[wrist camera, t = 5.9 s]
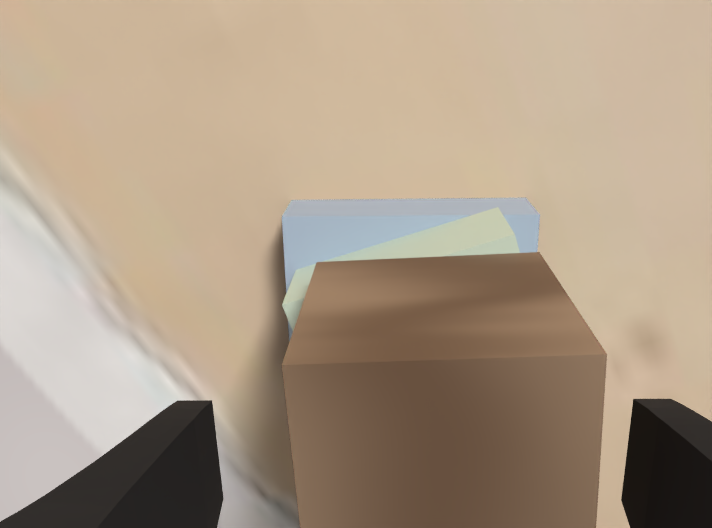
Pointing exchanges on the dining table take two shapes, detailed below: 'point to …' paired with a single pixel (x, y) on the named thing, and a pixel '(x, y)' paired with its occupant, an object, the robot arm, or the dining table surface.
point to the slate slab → (385, 224)
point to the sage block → (421, 249)
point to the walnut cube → (444, 396)
